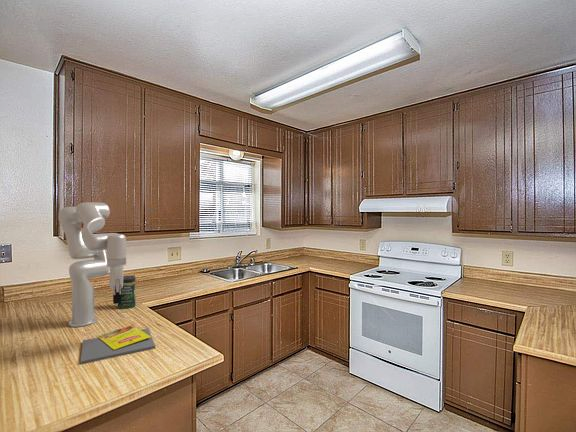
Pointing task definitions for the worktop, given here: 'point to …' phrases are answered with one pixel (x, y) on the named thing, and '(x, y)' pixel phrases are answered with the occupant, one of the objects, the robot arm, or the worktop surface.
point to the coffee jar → (128, 292)
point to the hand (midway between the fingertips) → (117, 302)
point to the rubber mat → (100, 350)
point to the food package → (123, 337)
